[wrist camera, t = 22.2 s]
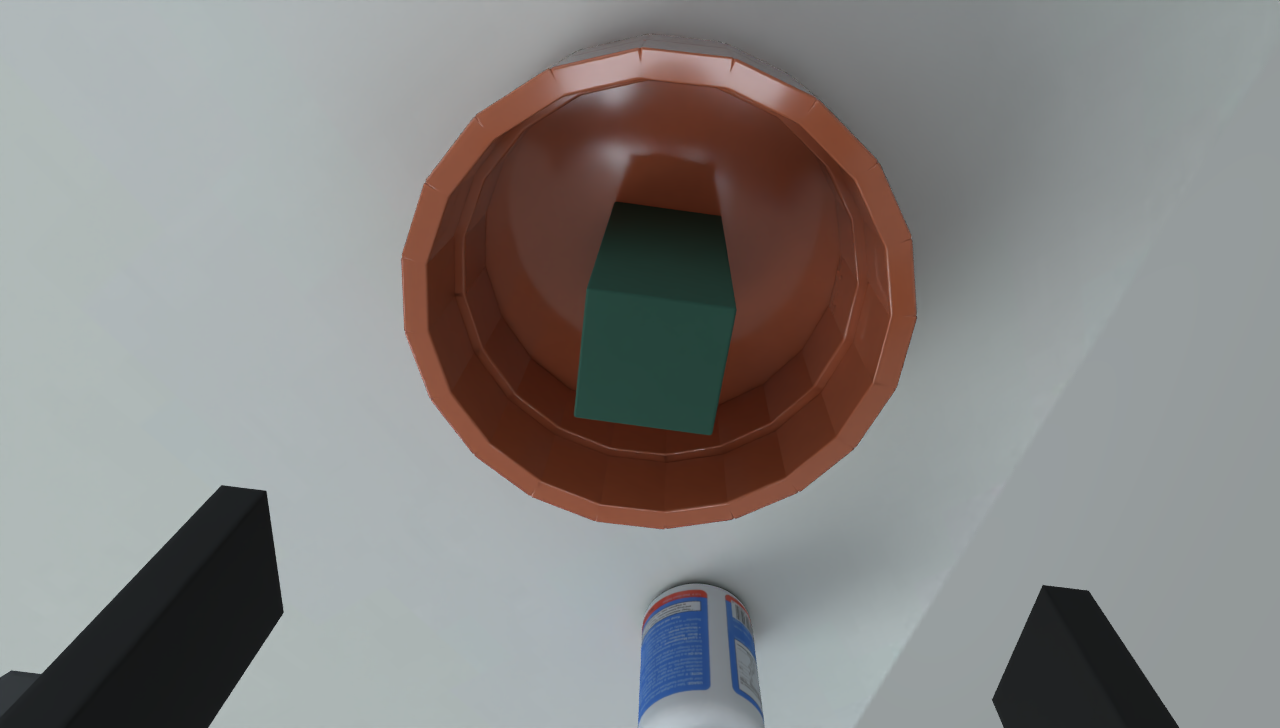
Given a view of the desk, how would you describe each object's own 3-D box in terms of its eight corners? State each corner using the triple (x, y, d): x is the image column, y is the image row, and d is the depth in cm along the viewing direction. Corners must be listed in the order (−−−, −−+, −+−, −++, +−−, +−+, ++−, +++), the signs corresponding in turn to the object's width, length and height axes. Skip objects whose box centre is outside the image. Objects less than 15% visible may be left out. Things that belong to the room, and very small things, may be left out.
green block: (722, 215, 28) (737, 308, 20) (704, 314, 30) (712, 436, 22) (614, 200, 28) (586, 287, 20) (603, 301, 30) (573, 418, 22)
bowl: (912, 61, 26) (984, 86, 20) (818, 444, 33) (849, 551, 27) (460, 10, 26) (390, 18, 20) (462, 403, 33) (410, 501, 27)
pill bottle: (630, 645, 39) (615, 836, 30) (659, 568, 37) (652, 750, 28) (732, 670, 39) (746, 865, 31) (768, 595, 37) (794, 783, 28)
